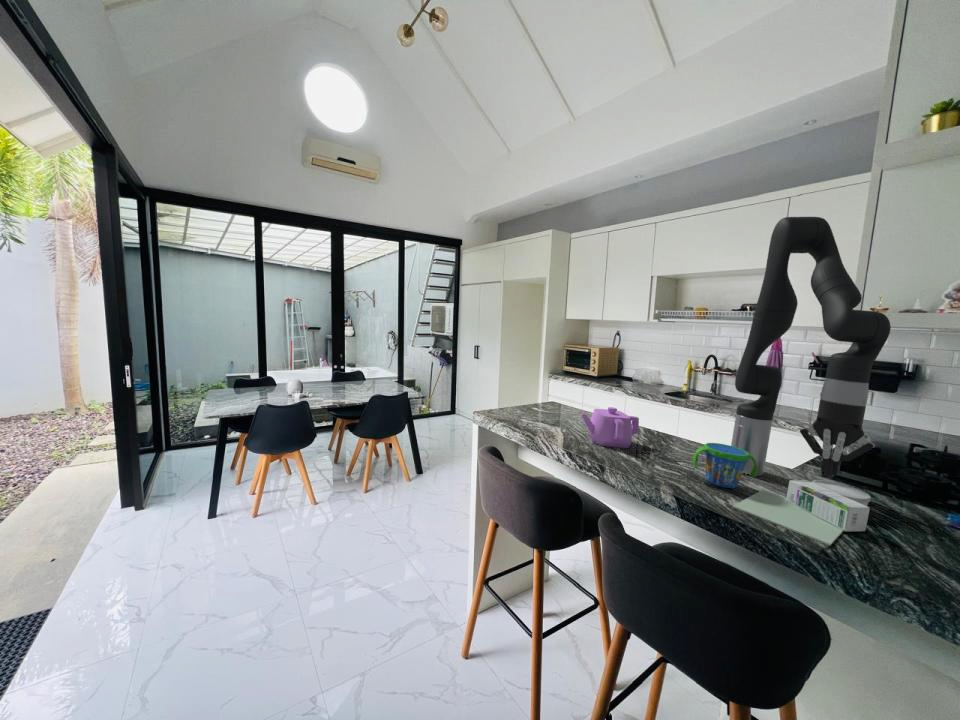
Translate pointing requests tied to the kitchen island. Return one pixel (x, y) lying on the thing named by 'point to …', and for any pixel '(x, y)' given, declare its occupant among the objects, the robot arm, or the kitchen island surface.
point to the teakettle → (611, 427)
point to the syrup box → (828, 505)
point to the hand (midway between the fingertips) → (828, 475)
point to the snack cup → (724, 464)
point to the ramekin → (845, 491)
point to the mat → (788, 516)
